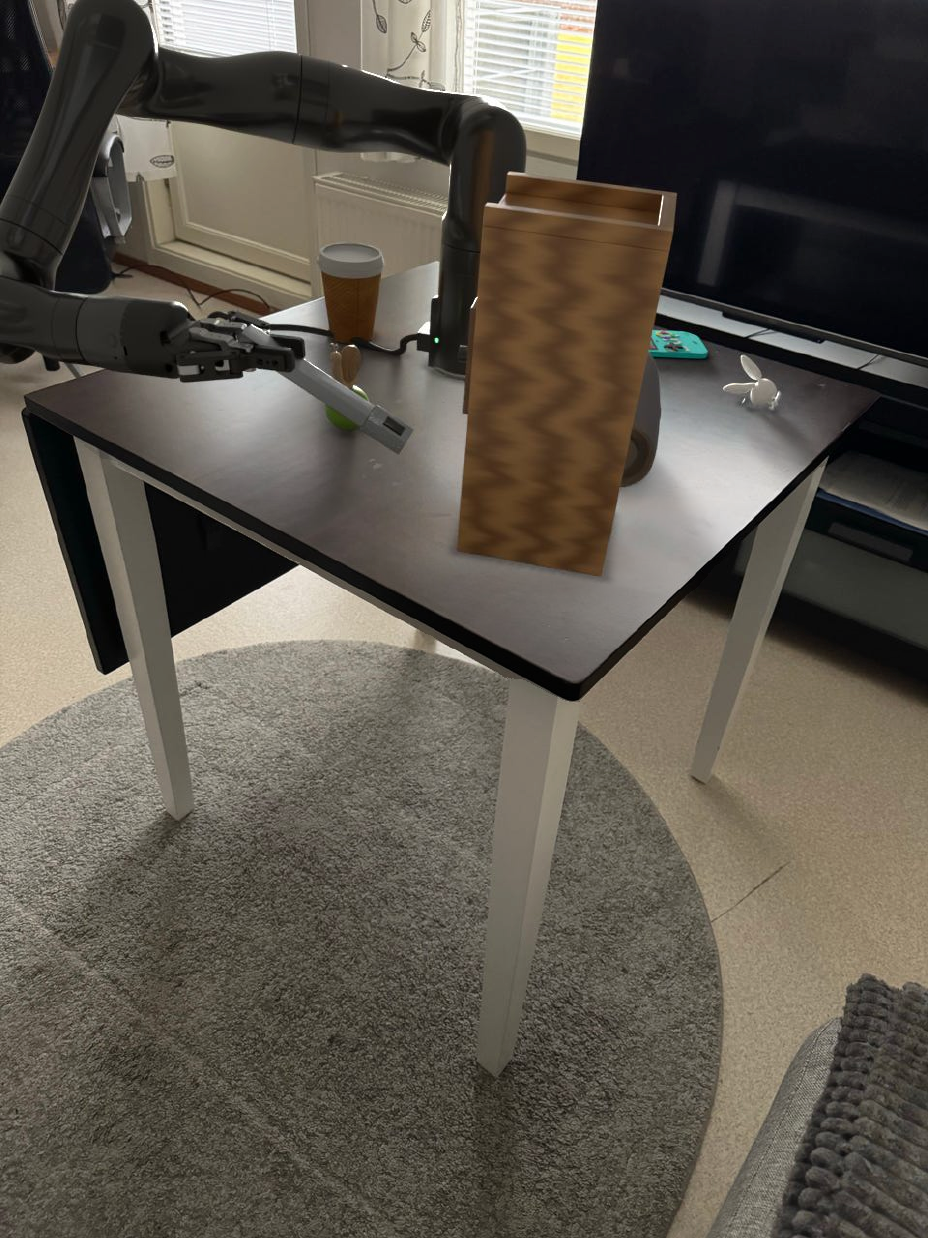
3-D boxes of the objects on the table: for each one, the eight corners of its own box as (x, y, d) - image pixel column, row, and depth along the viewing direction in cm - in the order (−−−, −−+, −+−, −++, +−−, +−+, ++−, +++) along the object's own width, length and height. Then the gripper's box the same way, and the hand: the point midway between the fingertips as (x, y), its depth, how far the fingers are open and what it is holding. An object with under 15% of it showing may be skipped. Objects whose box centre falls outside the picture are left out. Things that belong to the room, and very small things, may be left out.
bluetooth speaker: (650, 503, 104) (668, 423, 97) (568, 491, 105) (581, 411, 98) (653, 415, 121) (669, 342, 115) (583, 405, 122) (595, 332, 116)
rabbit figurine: (772, 418, 123) (726, 382, 122) (757, 427, 127) (712, 393, 126) (793, 385, 124) (747, 349, 124) (778, 395, 128) (733, 361, 127)
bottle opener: (233, 346, 89) (240, 332, 88) (247, 334, 92) (253, 320, 91) (398, 455, 93) (406, 443, 91) (406, 440, 95) (414, 428, 94)
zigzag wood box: (441, 548, 94) (464, 203, 73) (464, 490, 103) (491, 168, 82) (601, 577, 92) (673, 231, 71) (611, 515, 101) (677, 192, 80)
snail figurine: (314, 435, 110) (310, 339, 103) (337, 414, 115) (336, 320, 108) (355, 445, 109) (354, 349, 102) (377, 423, 114) (378, 330, 106)
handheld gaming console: (710, 351, 136) (611, 348, 135) (708, 358, 137) (610, 355, 136) (695, 330, 143) (601, 326, 141) (693, 336, 144) (600, 332, 142)
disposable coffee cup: (328, 319, 139) (326, 237, 131) (389, 327, 138) (391, 245, 130) (311, 343, 131) (308, 258, 124) (376, 352, 131) (377, 267, 123)
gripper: (175, 345, 100) (325, 363, 98) (109, 399, 90) (276, 421, 87) (162, 276, 96) (320, 293, 93) (92, 324, 85) (267, 344, 82)
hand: (297, 355), depth 90 cm, fingers closed on bottle opener, 2 cm apart
